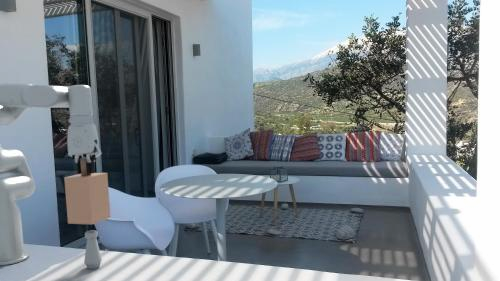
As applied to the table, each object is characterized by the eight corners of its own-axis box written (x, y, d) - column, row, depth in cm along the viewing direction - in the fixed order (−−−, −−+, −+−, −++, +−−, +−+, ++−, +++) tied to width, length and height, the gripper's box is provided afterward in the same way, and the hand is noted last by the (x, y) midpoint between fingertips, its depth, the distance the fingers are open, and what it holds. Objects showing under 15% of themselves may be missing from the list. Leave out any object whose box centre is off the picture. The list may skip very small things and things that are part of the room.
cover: (68, 223, 151) (62, 160, 150) (87, 216, 160) (82, 156, 159) (92, 224, 148) (87, 159, 146) (110, 217, 157) (106, 156, 156)
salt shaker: (96, 270, 152) (93, 233, 151) (81, 269, 153) (78, 233, 152) (105, 264, 157) (102, 228, 157) (90, 264, 159) (88, 228, 158)
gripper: (54, 122, 151) (59, 175, 152) (94, 120, 146) (99, 175, 147) (70, 121, 158) (74, 172, 159) (108, 119, 153) (112, 171, 154)
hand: (86, 173), depth 153 cm, fingers closed on cover, 3 cm apart
